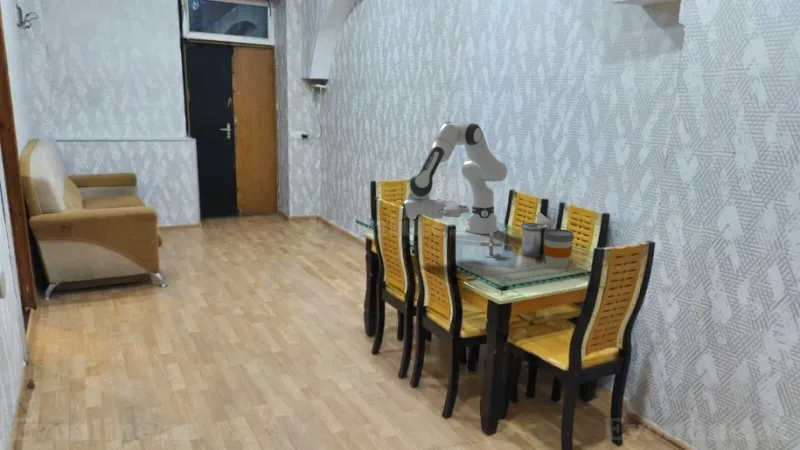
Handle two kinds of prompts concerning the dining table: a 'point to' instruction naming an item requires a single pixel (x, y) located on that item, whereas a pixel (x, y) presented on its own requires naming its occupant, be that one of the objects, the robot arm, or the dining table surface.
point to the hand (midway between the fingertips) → (468, 208)
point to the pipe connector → (491, 244)
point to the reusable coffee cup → (558, 247)
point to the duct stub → (535, 236)
